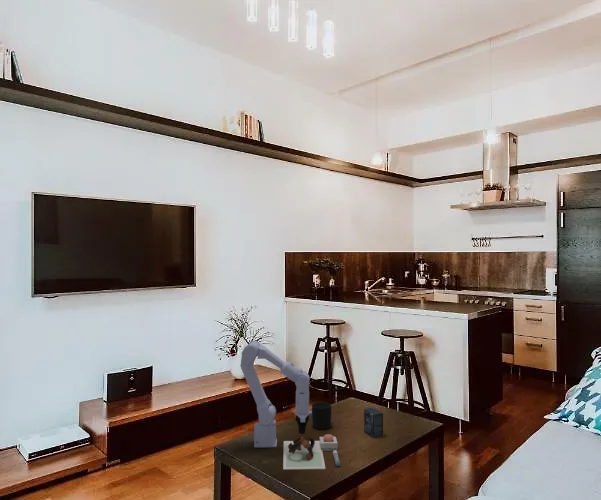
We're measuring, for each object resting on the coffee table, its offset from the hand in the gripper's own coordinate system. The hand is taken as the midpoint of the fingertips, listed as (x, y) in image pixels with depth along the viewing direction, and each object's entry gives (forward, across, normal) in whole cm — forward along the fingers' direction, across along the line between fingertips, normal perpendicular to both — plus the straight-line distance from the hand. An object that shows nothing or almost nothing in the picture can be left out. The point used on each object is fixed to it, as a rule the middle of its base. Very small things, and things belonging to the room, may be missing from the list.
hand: (302, 433), depth 191 cm
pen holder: (+5, +22, -10) cm, 25 cm away
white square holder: (+5, -2, -11) cm, 12 cm away
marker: (+5, -15, -13) cm, 21 cm away
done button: (+3, -2, -11) cm, 12 cm away
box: (+5, +12, -33) cm, 36 cm away
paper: (+5, -9, 0) cm, 10 cm away
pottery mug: (+5, -11, 0) cm, 12 cm away
